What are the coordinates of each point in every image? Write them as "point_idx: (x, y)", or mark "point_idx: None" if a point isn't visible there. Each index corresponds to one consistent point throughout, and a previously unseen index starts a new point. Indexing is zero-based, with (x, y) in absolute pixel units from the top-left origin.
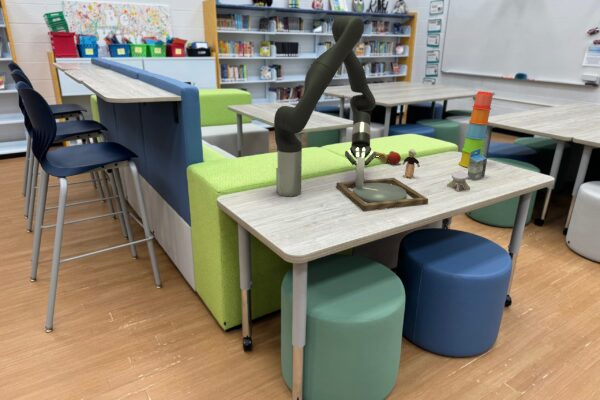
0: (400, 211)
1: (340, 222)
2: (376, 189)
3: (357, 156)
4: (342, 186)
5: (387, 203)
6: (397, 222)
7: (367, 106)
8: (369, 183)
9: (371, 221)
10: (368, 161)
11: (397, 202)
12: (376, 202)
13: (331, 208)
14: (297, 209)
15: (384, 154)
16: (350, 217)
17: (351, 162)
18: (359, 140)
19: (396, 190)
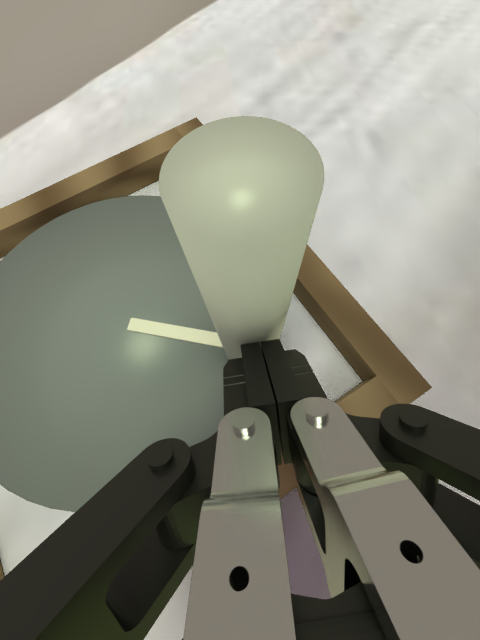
0: (54, 177)
1: (263, 56)
2: (136, 341)
3: (388, 500)
4: (360, 321)
5: (92, 167)
6: (82, 101)
7: None
8: None
9: (166, 85)
10: (129, 465)
11: (44, 190)
12: (141, 161)
13: (326, 129)
14: (446, 90)
15: None
16: (238, 90)
17: (440, 490)
18: None
19: (9, 361)
